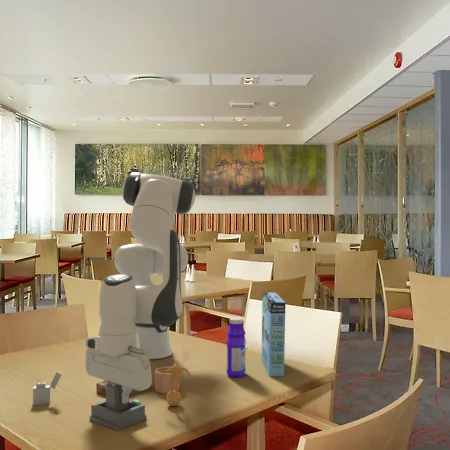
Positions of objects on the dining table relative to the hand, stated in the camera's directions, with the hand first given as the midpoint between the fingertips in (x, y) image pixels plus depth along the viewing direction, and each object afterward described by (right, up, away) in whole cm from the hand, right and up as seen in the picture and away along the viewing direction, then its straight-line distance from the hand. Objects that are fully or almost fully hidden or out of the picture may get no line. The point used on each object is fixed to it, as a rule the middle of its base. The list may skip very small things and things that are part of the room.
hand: (117, 400), depth 126 cm
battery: (0, -2, 0) cm, 2 cm away
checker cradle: (0, -5, 0) cm, 5 cm away
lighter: (-20, -4, +11) cm, 24 cm away
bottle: (+29, -4, +36) cm, 46 cm away
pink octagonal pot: (+10, -4, +22) cm, 24 cm away
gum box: (+41, -4, +43) cm, 60 cm away
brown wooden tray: (-2, -4, +21) cm, 21 cm away
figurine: (+13, -5, +8) cm, 16 cm away
